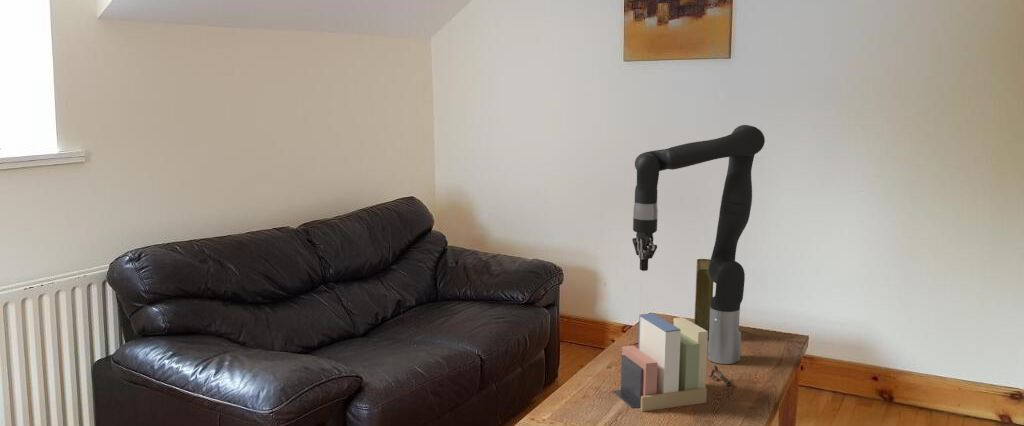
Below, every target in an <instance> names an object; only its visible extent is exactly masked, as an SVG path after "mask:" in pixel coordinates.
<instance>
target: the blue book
mask: <svg viewBox="0 0 1024 426" xmlns="http://www.w3.org/2000/svg"><path fill="white" fill-rule="evenodd" d="M680 336H681V331H680V329H679V328H677V327H676V326H674V325H673V323H671V322H669V321H667V320H666V319H663V318H662V317H661V316H659V315H658V314H655V313H654V312H653V313H652V312H651V313H642V314H639V315H638V343H637V344H638V346H637V348H638V349H639V350H640V351H642V352H643V353H645V354H646V355H648V356H649V357H650V358H652V359H653V360H655V361H656V362H657V391H656V394H662V393H669V392H677V391H678V387H679V362H680Z"/></svg>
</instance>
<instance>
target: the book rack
mask: <svg viewBox="0 0 1024 426" xmlns="http://www.w3.org/2000/svg"><path fill="white" fill-rule="evenodd" d="M672 325H674V326H676V327H677V328H679V329H680V331H681V336H680V362H679V387H678V391H677V392H669V393H662V394H656V391H657V362H656V361H655V360H653V359H652V358H650V357H649V356H648V355H646V354H645V353H643V352H642V351H640V350H639V349H638V347H636V346H635V345H625V346H624V345H623V346H621V356H622V355H625V356H626V357H628V358H629V359H631V360H632V361H633V362H635V363H636V364H637V365H639V366H640V367H641V368H643V393H642V396H641V407H640V411H641V412H648V411H655V410H662V409H668V408H677V407H684V406H691V405H698V404H705V403H706V404H707V395H708V388H706V381H707V380H706V379H707V361H708V339H707V338H708V331H706V330H705V329H703V328H701V327H699V326H697V325H696V324H694V322H692V321H691V320H689V319H687V318H685V317H683V316H682V317H681V316H680V317H674V318H673V323H672Z"/></svg>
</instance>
